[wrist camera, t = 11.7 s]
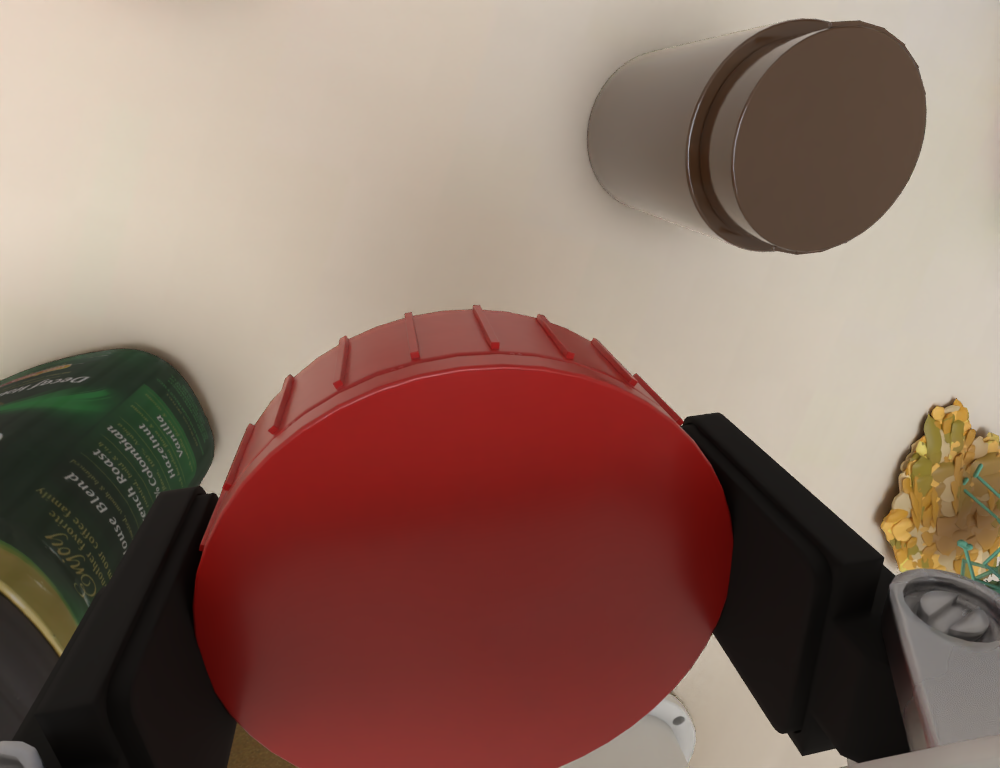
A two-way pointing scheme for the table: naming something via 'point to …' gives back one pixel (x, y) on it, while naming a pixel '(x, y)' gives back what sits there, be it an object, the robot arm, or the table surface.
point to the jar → (764, 133)
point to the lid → (459, 551)
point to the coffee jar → (80, 494)
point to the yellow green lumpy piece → (949, 500)
